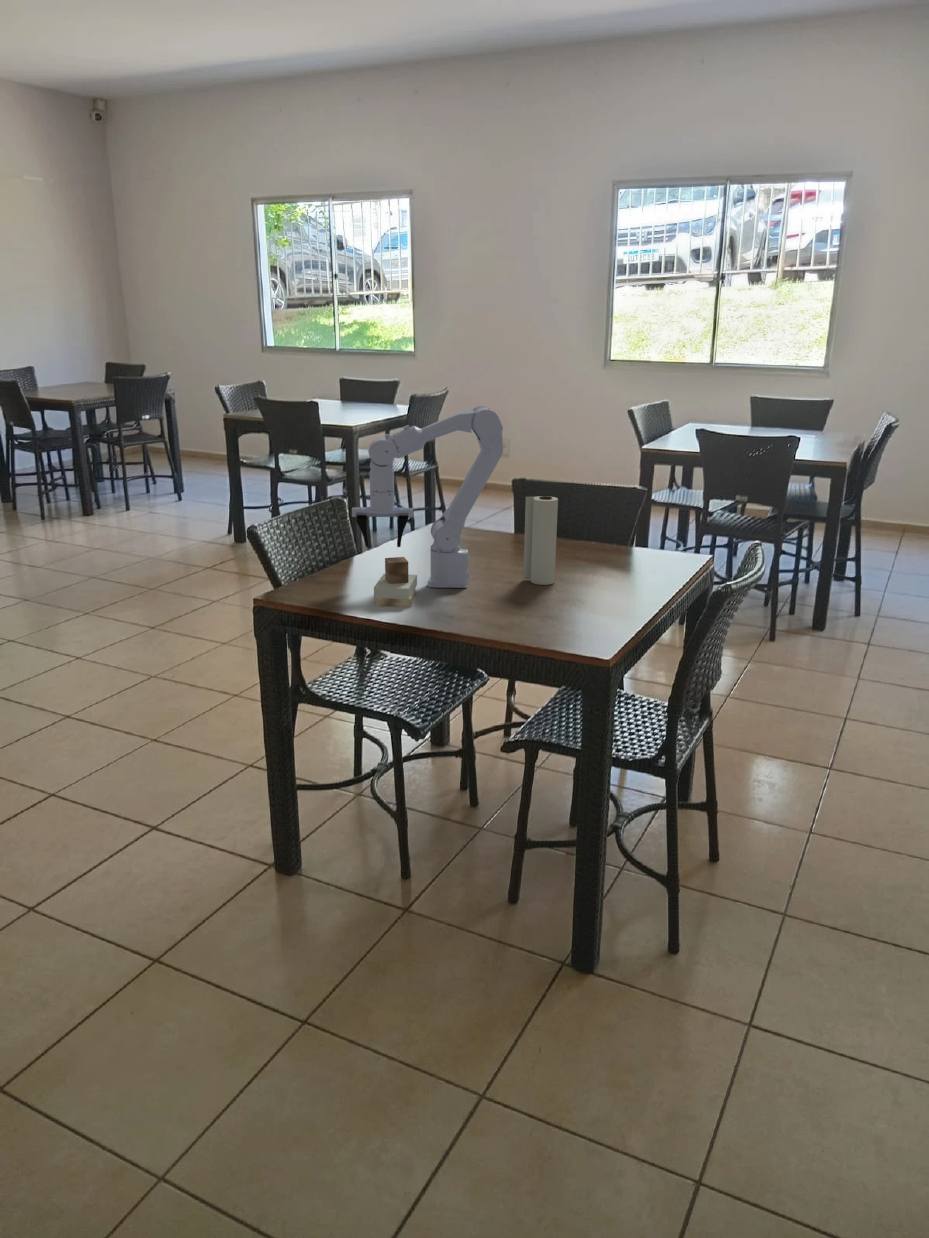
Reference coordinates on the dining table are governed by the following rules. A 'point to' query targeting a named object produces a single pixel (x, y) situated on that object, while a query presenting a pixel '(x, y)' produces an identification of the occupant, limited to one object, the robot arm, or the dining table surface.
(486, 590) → the dining table surface
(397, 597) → the slab top
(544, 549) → the paper towel roll
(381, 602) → the slab bottom
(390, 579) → the walnut block
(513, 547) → the dining table surface
